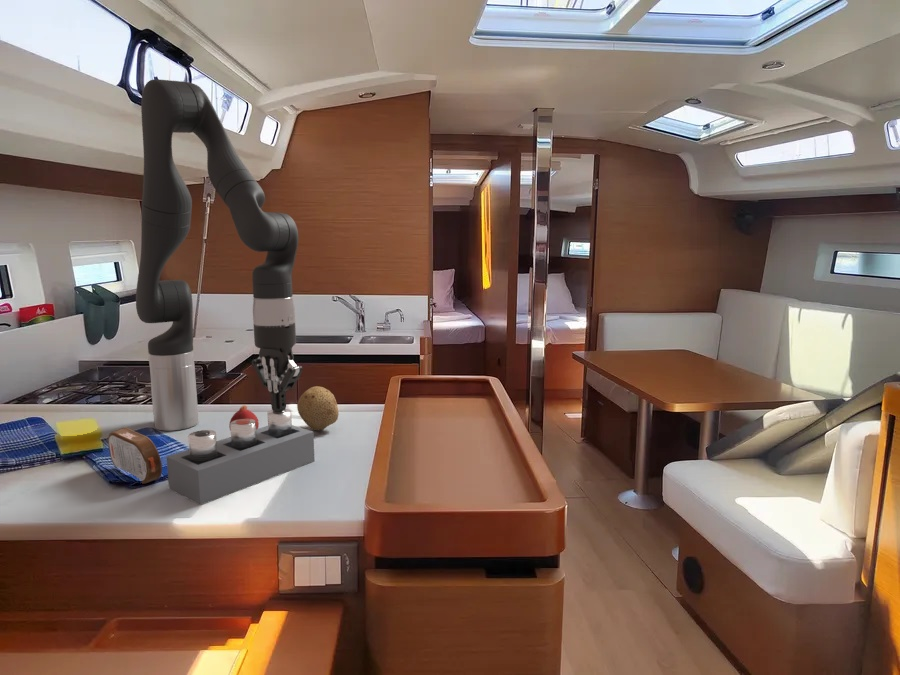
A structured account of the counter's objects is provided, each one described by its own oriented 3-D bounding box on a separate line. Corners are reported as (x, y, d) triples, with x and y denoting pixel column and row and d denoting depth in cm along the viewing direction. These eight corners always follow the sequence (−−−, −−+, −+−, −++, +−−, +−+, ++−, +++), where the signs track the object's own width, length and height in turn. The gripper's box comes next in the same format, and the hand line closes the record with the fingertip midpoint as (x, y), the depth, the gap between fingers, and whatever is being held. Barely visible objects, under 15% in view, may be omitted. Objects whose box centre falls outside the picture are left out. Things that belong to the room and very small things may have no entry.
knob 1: (184, 457, 103) (183, 433, 103) (208, 449, 107) (206, 426, 106) (198, 463, 101) (197, 438, 100) (222, 455, 104) (221, 431, 103)
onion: (250, 447, 125) (248, 410, 123) (225, 445, 126) (222, 408, 124) (264, 438, 130) (262, 402, 129) (240, 436, 131) (237, 401, 130)
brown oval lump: (297, 424, 139) (295, 382, 137) (336, 421, 142) (335, 380, 140) (299, 437, 131) (297, 393, 129) (340, 433, 133) (339, 390, 131)
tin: (165, 484, 107) (161, 439, 105) (147, 490, 104) (143, 444, 103) (124, 464, 116) (120, 422, 114) (107, 469, 113) (102, 427, 112)
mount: (169, 489, 105) (166, 456, 104) (282, 449, 124) (281, 421, 122) (200, 505, 99) (198, 470, 98) (314, 460, 118) (313, 431, 117)
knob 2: (263, 432, 116) (262, 411, 115) (282, 426, 119) (281, 405, 119) (277, 437, 113) (276, 415, 113) (296, 431, 117) (295, 409, 116)
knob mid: (226, 444, 110) (225, 421, 109) (247, 437, 113) (246, 415, 112) (240, 449, 107) (239, 426, 106) (261, 442, 110) (260, 420, 110)
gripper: (236, 320, 113) (241, 408, 116) (279, 327, 105) (284, 421, 108) (269, 315, 119) (274, 400, 122) (313, 322, 111) (317, 411, 114)
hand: (279, 410), depth 115 cm, fingers closed
